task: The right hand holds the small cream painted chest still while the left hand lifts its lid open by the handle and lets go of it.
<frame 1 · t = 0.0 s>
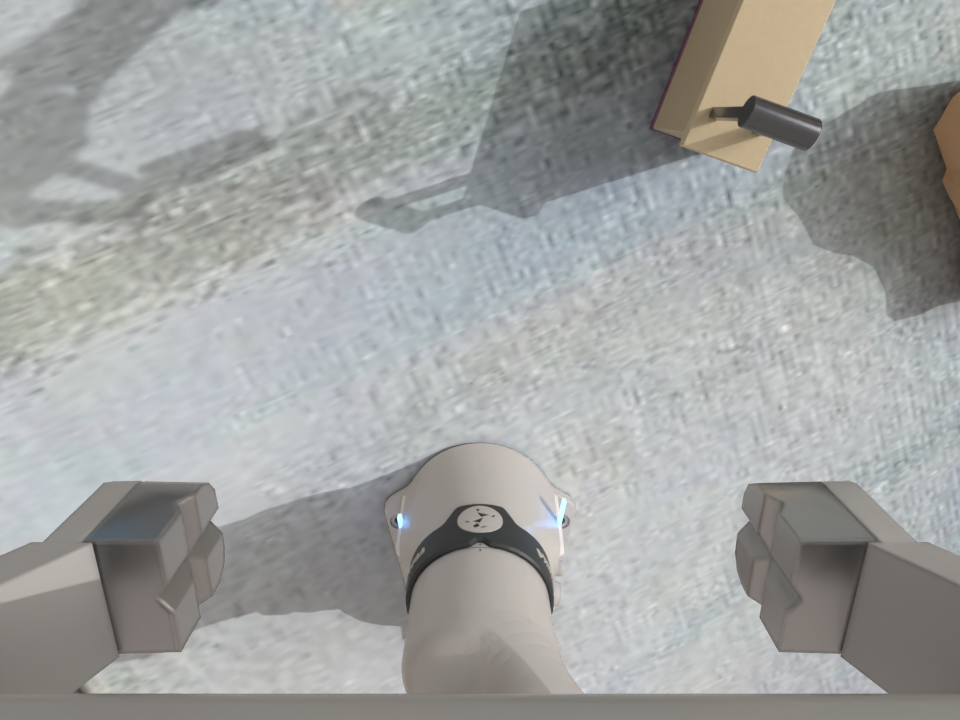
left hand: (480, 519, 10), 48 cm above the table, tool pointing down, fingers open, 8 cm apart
chest: (717, 50, 52), on the table
lid: (793, 38, 39), point 14 cm above the table, hinge at 0.0°
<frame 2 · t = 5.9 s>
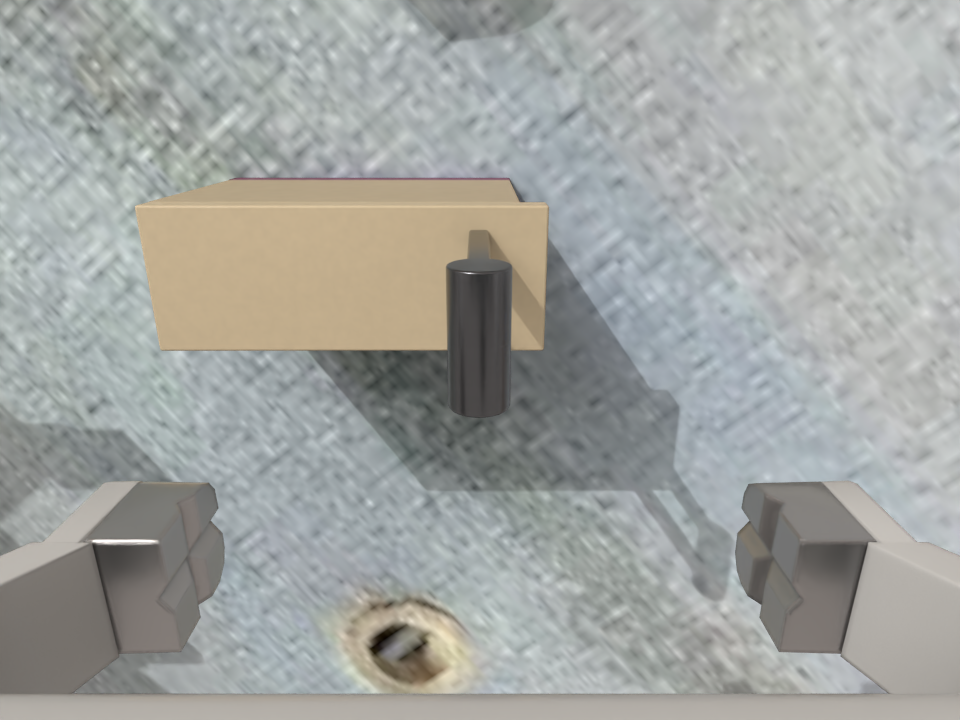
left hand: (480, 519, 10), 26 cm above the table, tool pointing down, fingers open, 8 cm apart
chest: (375, 232, 34), on the table
lid: (328, 304, 21), point 14 cm above the table, hinge at 0.0°
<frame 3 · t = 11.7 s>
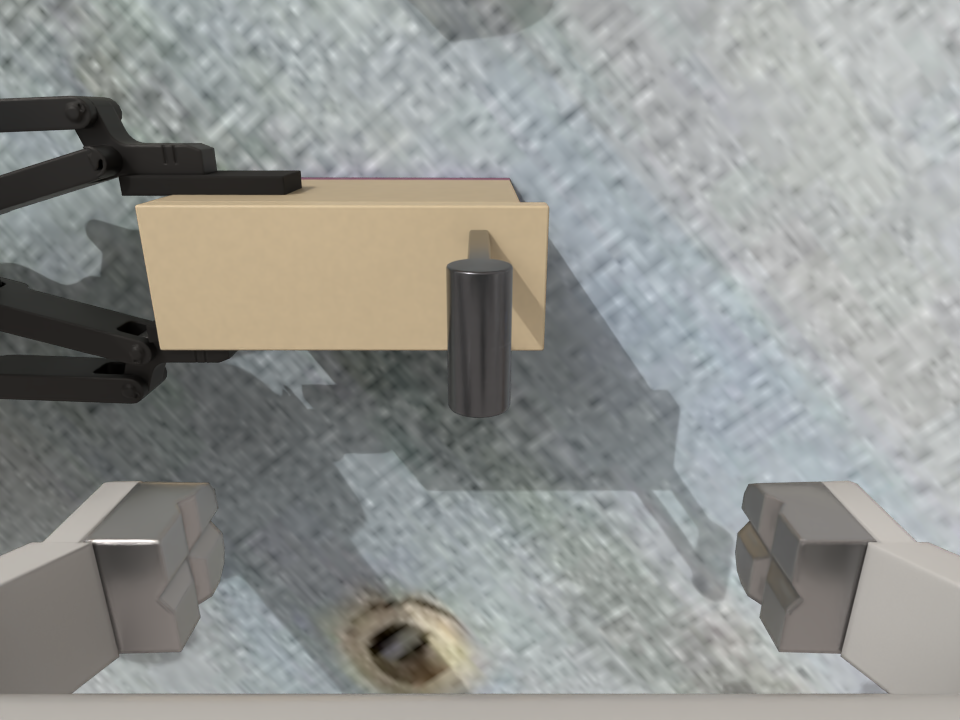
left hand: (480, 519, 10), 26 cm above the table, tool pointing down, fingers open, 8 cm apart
right hand: (299, 256, 29), fingers closed on chest, 5 cm apart
chest: (375, 232, 34), on the table, touching right hand
lid: (328, 304, 21), point 14 cm above the table, hinge at -0.1°
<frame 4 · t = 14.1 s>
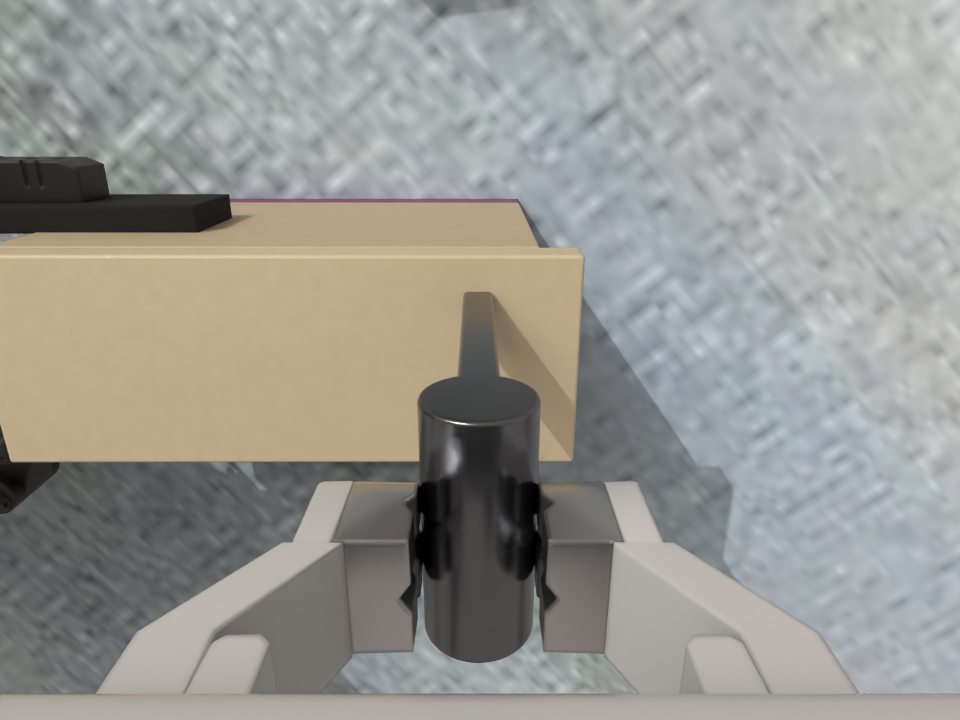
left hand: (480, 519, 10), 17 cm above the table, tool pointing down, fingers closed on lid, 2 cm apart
chest: (342, 269, 26), on the table, touching right hand
lid: (237, 422, 13), point 14 cm above the table, hinge at 0.0°, touching left hand
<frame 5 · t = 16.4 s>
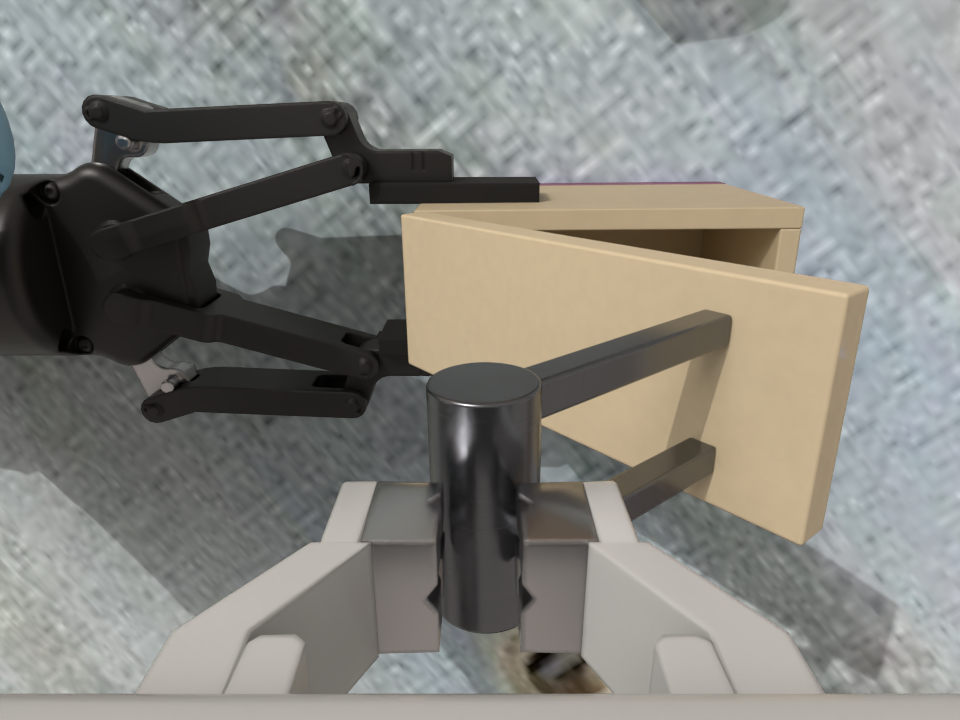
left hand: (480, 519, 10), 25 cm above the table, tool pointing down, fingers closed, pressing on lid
right hand: (534, 266, 28), fingers closed on chest, 5 cm apart
chest: (574, 239, 33), on the table, touching right hand
lid: (461, 368, 16), point 18 cm above the table, hinge at 49.2°, touching left hand
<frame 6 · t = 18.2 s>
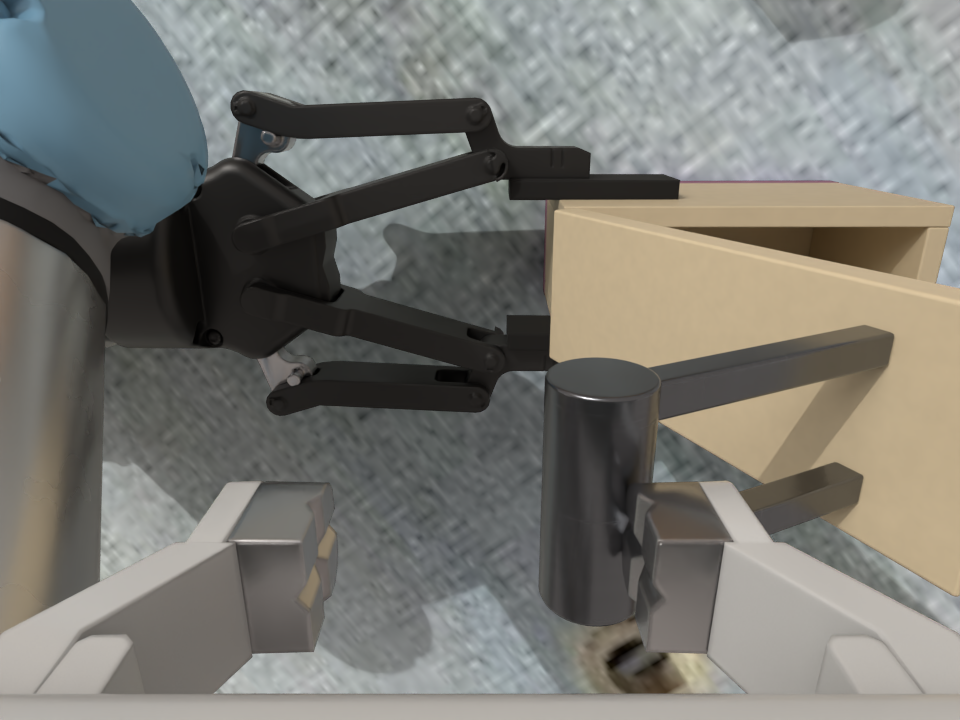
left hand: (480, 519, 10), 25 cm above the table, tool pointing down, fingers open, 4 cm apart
right hand: (662, 262, 28), fingers closed on chest, 5 cm apart
chest: (681, 237, 33), on the table, touching right hand
lid: (594, 365, 16), point 18 cm above the table, hinge at 62.9°, touching left hand
when the right hand's fingers open (6 cm above the table, at t = 21.2 s): chest stays where it is, on the table.
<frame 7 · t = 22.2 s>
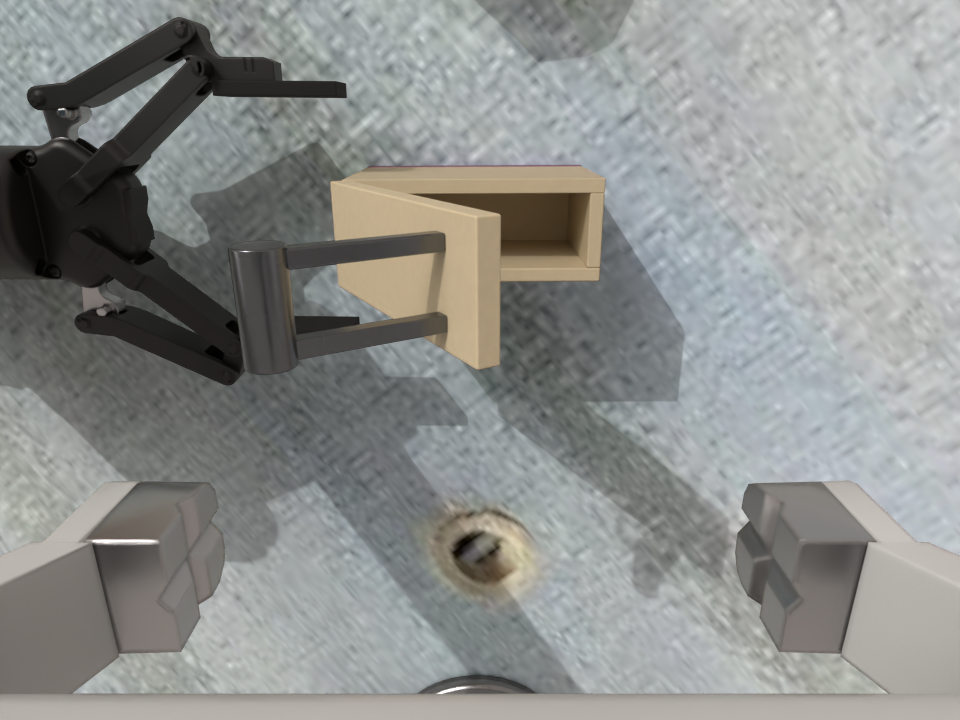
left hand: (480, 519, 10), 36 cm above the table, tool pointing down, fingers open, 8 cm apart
right hand: (350, 216, 38), fingers open, 13 cm apart
chest: (475, 208, 44), on the table
lid: (318, 268, 27), point 18 cm above the table, hinge at 59.3°
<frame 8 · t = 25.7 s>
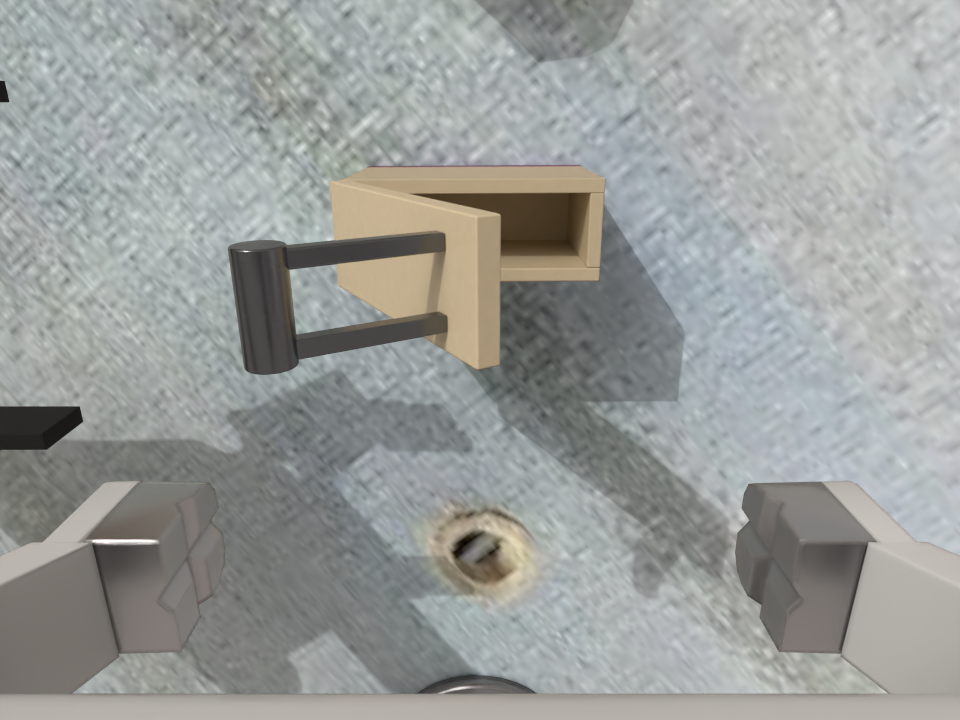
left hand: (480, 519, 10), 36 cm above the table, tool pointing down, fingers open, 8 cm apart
chest: (475, 208, 44), on the table
lid: (318, 268, 27), point 18 cm above the table, hinge at 59.3°
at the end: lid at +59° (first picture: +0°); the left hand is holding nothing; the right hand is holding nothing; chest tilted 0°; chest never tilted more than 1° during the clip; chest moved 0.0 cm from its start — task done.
